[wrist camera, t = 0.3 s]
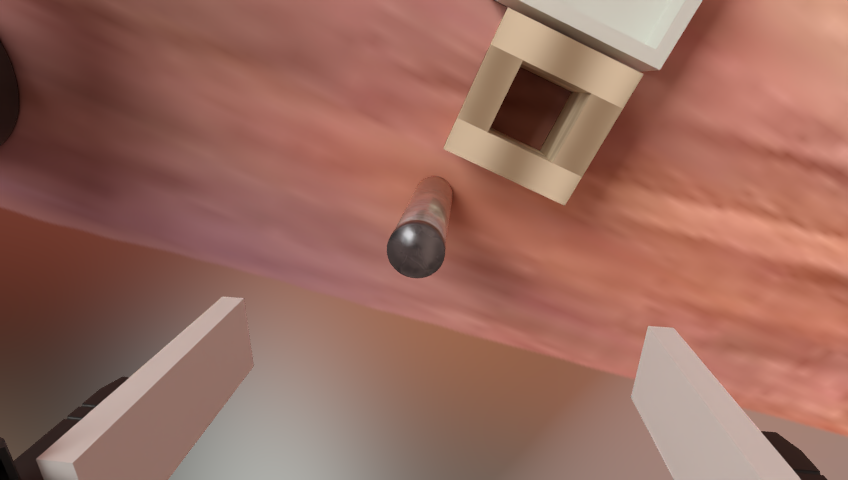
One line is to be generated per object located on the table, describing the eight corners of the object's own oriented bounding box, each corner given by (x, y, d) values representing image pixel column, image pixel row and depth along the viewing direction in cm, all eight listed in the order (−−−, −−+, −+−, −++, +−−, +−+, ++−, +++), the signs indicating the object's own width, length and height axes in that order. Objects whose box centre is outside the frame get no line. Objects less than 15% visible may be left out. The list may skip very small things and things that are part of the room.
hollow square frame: (447, 138, 37) (443, 148, 31) (501, 20, 33) (508, 7, 27) (550, 187, 37) (564, 205, 32) (614, 75, 34) (643, 74, 28)
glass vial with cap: (408, 203, 39) (378, 263, 26) (424, 169, 38) (400, 214, 25) (443, 219, 39) (430, 286, 26) (459, 185, 38) (454, 239, 25)
